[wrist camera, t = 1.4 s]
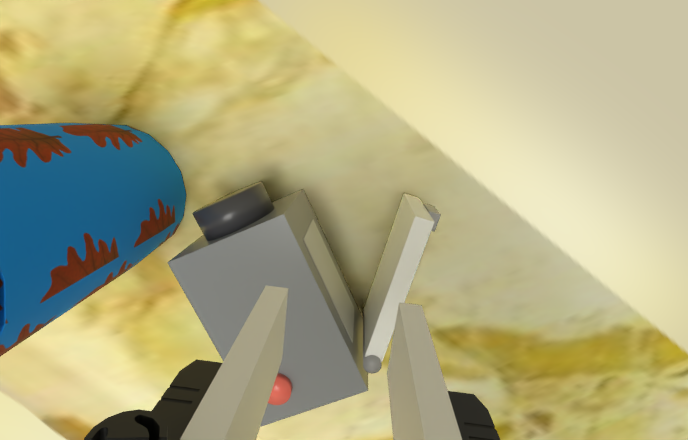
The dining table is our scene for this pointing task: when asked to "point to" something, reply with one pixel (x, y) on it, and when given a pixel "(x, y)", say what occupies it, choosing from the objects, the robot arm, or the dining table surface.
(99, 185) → the thermos
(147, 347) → the dining table surface
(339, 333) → the camera body
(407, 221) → the side door
